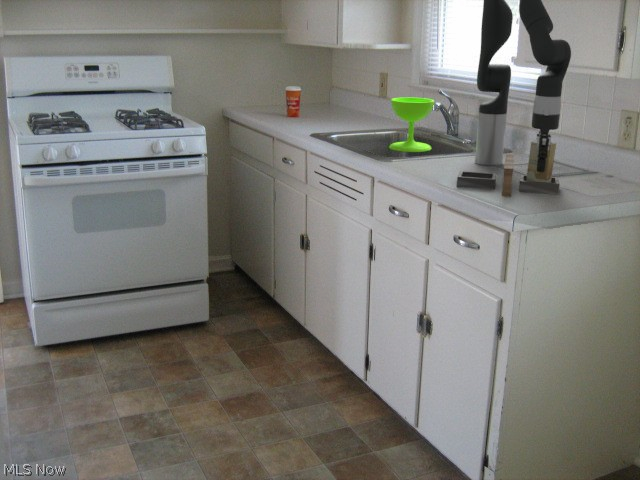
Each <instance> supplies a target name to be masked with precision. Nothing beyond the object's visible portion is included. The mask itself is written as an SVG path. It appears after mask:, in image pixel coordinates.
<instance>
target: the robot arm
mask: <svg viewBox="0 0 640 480" xmlns="http://www.w3.org/2000/svg"><path fill="white" fill-rule="evenodd" d="M518 3H519V5H518V13H519V18H520V20H521V21H522V24H523V26H524V28H525V30H526V32H527V34H528V37H529V42H530V47H531V52H532V55H533V57H534V59H535V61H536V62H537V63H539V65H542V66H544V67H546V69H545V72H543V73H542V74H541V75H538V77H537V80H536V86H535V97H534V100H533V104H532V105H533V107H532V117H531V125H530V126H531V128H532V129H535V130H539V132H538V133H536V140H537V151H538V156H537V158H538V162H537V172H544V171H545V163H546V158H547V156H548V155H547V152H548V151H549V146H548V145H550V142H552V141H551V140H552V135H551V134H549V132H550V131H553V130H557V129H559V126H560V118H561V116H560V115H561V107H562V92H563V81H564V79H565V77H566V73H567V70H568V69H569V65H570V61H571V57H572V49H571V46H570V43H569V42H568V41H567V40H566V39H565V40H564V39H553V38H552V37H551V35H550V34H551V33H552V31H553V30H554V23H553V21H552V19H551V17H550V15H549V13H548V11H547V8H546V7H545V5H544V2H543V1H542V0H519V2H518ZM482 7H483V8H482V16H481V18H482V19H481V30H480V31H481V32H480V33H481V34H480V35H481V36H480V53H479V60H478V61H479V62H478V66H477V67H478V69H477V75H476V87H477V89H478V90H479V91H480V92H482V93H483V92H485V93H498V95H497V96H496V97H495V98H492V99H491V100H487V101H485V102H482V103H480V104H479V109H478V117H477V118H478V119H477V120H478V121H477V131H476V132H477V133H476V143H475V145H476V147H475V154H474V155H475V156H474V157H475V158H474V163H476V164H477V165H482V166H483V165H484V166H500V165H502V164H503V158H504V147H505V137H506V128H507V127H506V126H507V125H506V124H507V115H508V101H509V93H510V86H511V81H512V78H511V77H512V68H511V65H509V64H506V63H503V64H501V63H491V61H492V59H493V57H494V56H495V55H496V54H497V52H498V51H499V50H500V49H502V48H503V46H504V45H505V44H506V43H507V42H508V40H509V38H510V36H511V35H512V29H513V28H512V26H513V18H514V17H513V16H514V15H513V11H512V9H511V7H510V5H509V4H508V3H507V1H506V0H483V5H482ZM540 151H545V154H540Z"/></svg>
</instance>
